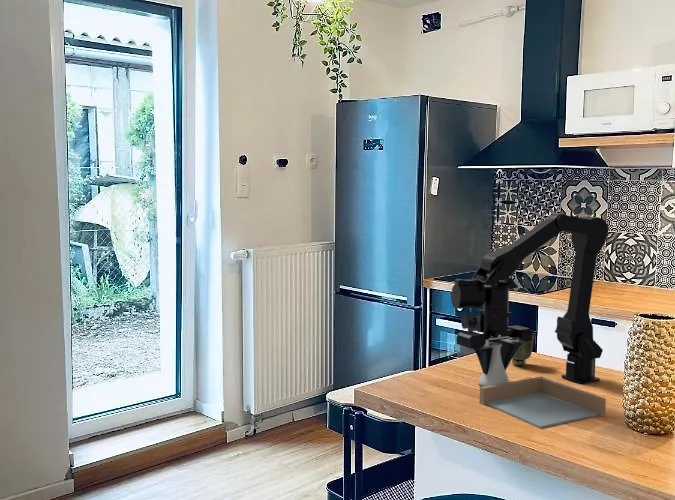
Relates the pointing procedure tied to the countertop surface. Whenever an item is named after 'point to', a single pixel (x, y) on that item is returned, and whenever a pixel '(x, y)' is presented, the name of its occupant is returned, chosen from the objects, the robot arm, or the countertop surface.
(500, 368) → the flask
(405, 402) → the countertop surface
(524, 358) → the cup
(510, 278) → the robot arm
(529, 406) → the corner arena
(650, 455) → the countertop surface
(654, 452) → the countertop surface
